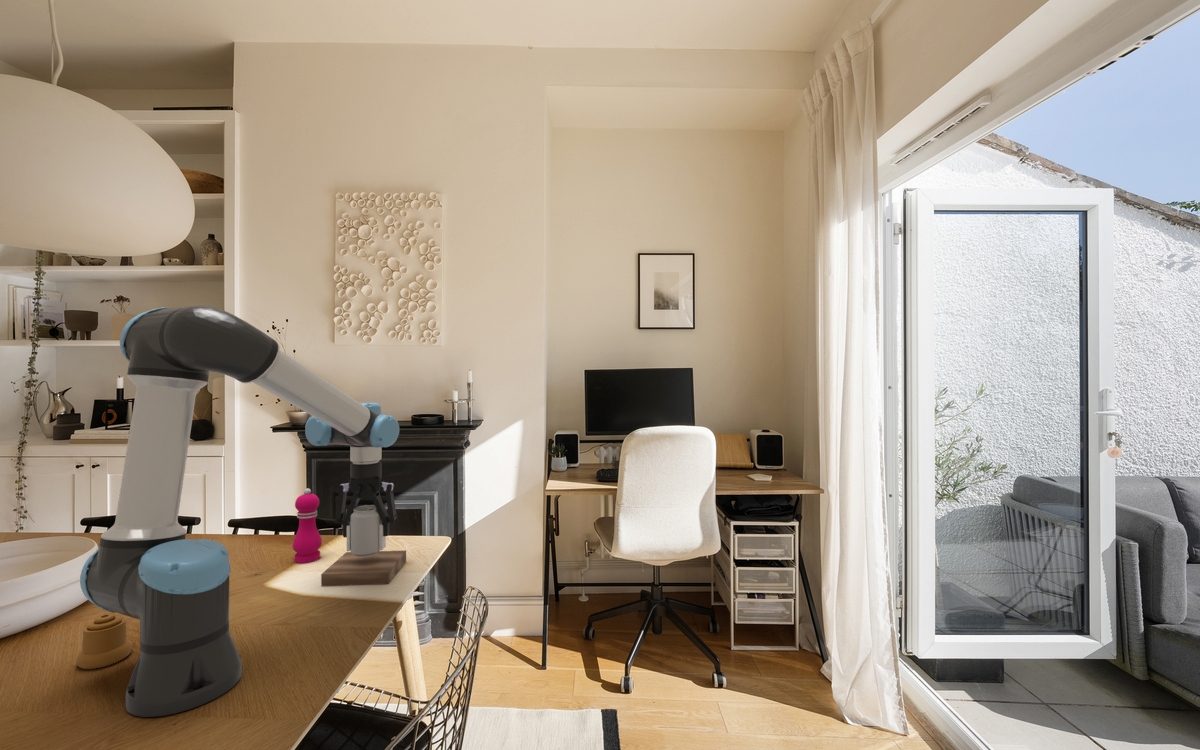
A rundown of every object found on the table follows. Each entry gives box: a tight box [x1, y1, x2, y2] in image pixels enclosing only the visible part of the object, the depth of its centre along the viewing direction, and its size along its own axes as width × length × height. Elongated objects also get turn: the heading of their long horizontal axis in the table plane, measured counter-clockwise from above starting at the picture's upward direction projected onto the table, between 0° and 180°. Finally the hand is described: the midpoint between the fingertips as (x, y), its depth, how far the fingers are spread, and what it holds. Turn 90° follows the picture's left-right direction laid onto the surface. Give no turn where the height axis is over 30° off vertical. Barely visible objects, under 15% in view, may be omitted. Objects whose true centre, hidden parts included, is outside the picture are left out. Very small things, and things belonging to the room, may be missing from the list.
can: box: [350, 504, 382, 557], centre depth 139 cm, size 8×8×12 cm
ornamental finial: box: [75, 612, 133, 670], centre depth 97 cm, size 8×8×8 cm
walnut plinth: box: [320, 549, 407, 587], centre depth 139 cm, size 16×16×3 cm
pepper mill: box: [292, 487, 323, 564], centre depth 149 cm, size 7×7×20 cm
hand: (366, 548), depth 139 cm, fingers closed on can, 7 cm apart
